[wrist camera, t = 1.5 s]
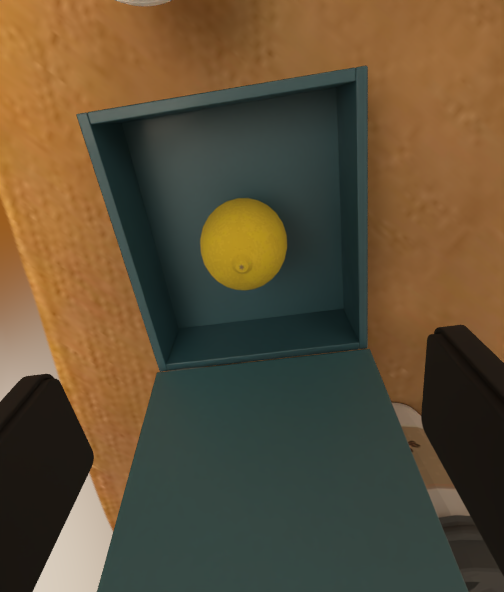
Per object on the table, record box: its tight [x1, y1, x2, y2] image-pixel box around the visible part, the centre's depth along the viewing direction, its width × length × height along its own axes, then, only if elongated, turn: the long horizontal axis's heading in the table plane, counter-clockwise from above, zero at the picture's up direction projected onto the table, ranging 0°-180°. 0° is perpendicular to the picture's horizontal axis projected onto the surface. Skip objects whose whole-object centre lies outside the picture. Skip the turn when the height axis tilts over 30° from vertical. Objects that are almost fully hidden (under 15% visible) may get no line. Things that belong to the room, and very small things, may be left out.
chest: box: [77, 66, 368, 372], centre depth 25 cm, size 17×15×6 cm
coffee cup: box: [392, 403, 504, 592], centre depth 30 cm, size 11×11×15 cm
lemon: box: [200, 198, 287, 290], centre depth 23 cm, size 6×6×8 cm
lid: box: [97, 349, 468, 592], centre depth 18 cm, size 18×15×1 cm
